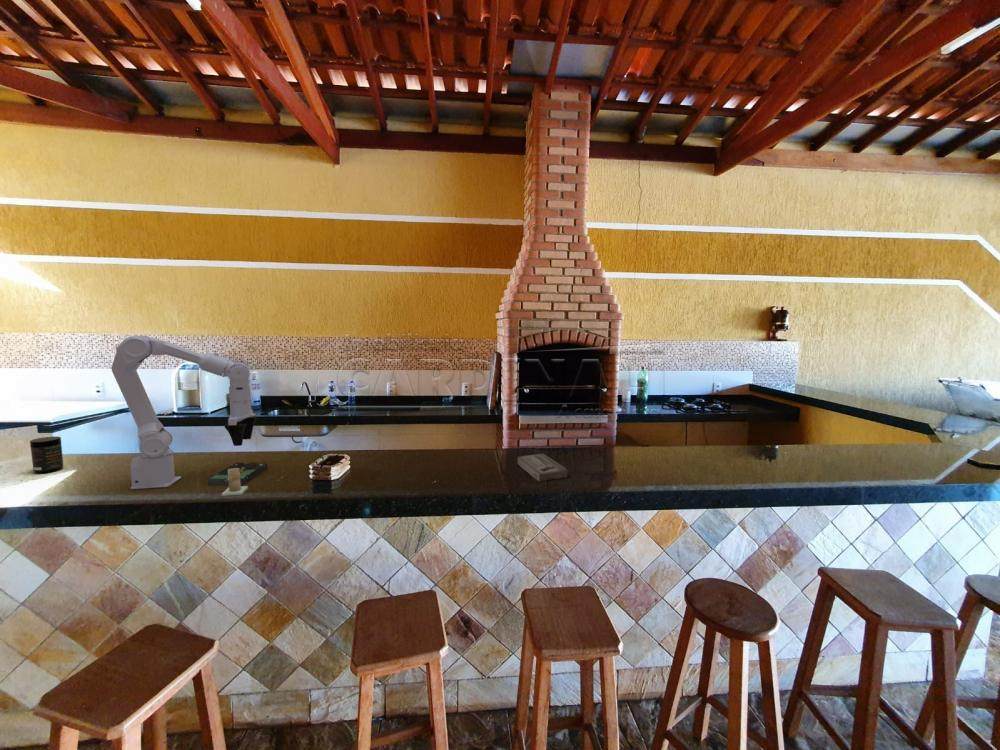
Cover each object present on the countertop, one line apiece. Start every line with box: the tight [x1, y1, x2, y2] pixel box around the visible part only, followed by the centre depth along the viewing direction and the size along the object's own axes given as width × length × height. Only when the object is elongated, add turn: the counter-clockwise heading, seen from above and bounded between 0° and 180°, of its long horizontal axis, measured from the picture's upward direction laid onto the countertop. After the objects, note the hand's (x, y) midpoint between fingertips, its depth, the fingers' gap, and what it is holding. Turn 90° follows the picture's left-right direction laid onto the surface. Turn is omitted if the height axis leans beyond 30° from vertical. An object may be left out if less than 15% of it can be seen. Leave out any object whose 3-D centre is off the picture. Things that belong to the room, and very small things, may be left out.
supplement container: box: [29, 436, 65, 475], centre depth 133 cm, size 7×7×10 cm
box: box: [517, 453, 569, 482], centre depth 141 cm, size 11×17×3 cm, turn 22°
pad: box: [221, 485, 249, 497], centre depth 119 cm, size 5×5×1 cm
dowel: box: [228, 468, 241, 492], centre depth 119 cm, size 3×3×6 cm
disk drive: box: [207, 462, 268, 487], centre depth 131 cm, size 10×3×15 cm
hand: (242, 442), depth 134 cm, fingers open, 7 cm apart
